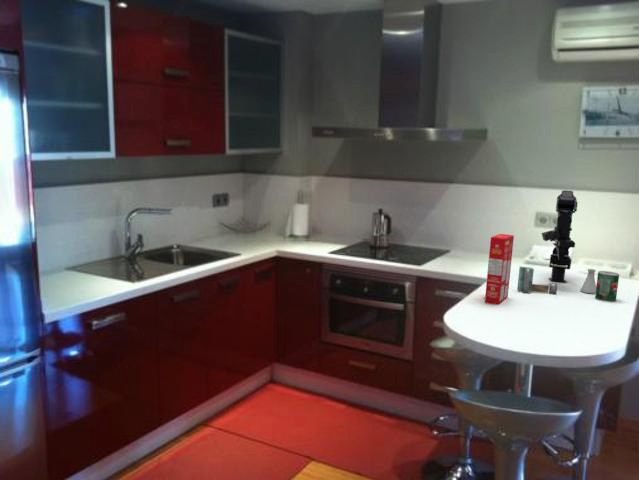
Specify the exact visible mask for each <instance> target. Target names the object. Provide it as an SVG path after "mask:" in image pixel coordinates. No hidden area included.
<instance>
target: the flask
mask: <svg viewBox="0 0 639 480" xmlns="http://www.w3.org/2000/svg"><path fill="white" fill-rule="evenodd" d="M587 271H588V272H587V274H586V278H585V281H584V282H583V284H582V286H581V288H580V289H579V290H580V292H581V293H585V294H591V295H595V293H596V285H597V282H596V279H595V278H596V277H595V275H596V271H597V270H596V269H593V268H587Z"/></svg>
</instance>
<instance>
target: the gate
mask: <svg viewBox="0 0 639 480" xmlns="http://www.w3.org/2000/svg"><path fill="white" fill-rule="evenodd" d="M525 269H531V276H530V286H529V293H532V292H534V293H546V294H547V293H548V294H549V286H550V284H538V283H537V284H536V283H533V281H534V271H535V269H534V268H533V267H532V266H531V267H530V266H519V268H518V278H517V288H516V289H517V290H518V292H523V284H524V274H525Z"/></svg>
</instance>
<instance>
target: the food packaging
mask: <svg viewBox="0 0 639 480" xmlns="http://www.w3.org/2000/svg"><path fill="white" fill-rule="evenodd" d="M514 238H515V235H513V234H504V233H499V234H496V235H494V236H491V237H490V242H489V243H490V244H489V253H488V254H489V255H488V264H487V273H486V274H487V275H486V285H485V295H484V296H485V297H484V303H487V304H491V305H492V304H493V305H500V304H502V303H503V302H504V301H505V300H507V299H508V297H509V289H510V277H511V267H512V259H513V249H514V248H513V247H514ZM506 298H507V299H506Z"/></svg>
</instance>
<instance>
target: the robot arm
mask: <svg viewBox="0 0 639 480" xmlns="http://www.w3.org/2000/svg"><path fill="white" fill-rule="evenodd" d="M578 204H579V203H578V200H577V196H575V195H574V191H572V190H565V189H564V190H561V193H560V194H559V195H558V196H557V198H556V204H555V205H556V206H555V212H557V219H556V225H555V226H554V229H552V230H548V231H544V232H541V236H542V240H543V241H545V242H548V241H550V242H553V243H552V244H553V245H554V247H553V249H552V254H550V256H549V258H550V259H549V266H548V267H549V268H551V274H550V275H551V277H548V279H549V280H550V281H551V282H555V283H556V282H557V283H567V281H566V279H565V276H566V270H571V267H572V266H571V265H572V259H571V256H570V251H569V249H571V248H575V246H576V242H575V241H574V240H573V239H571V231H572V230H573V228H572V222H573V214H576V212H577V211H578Z"/></svg>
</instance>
